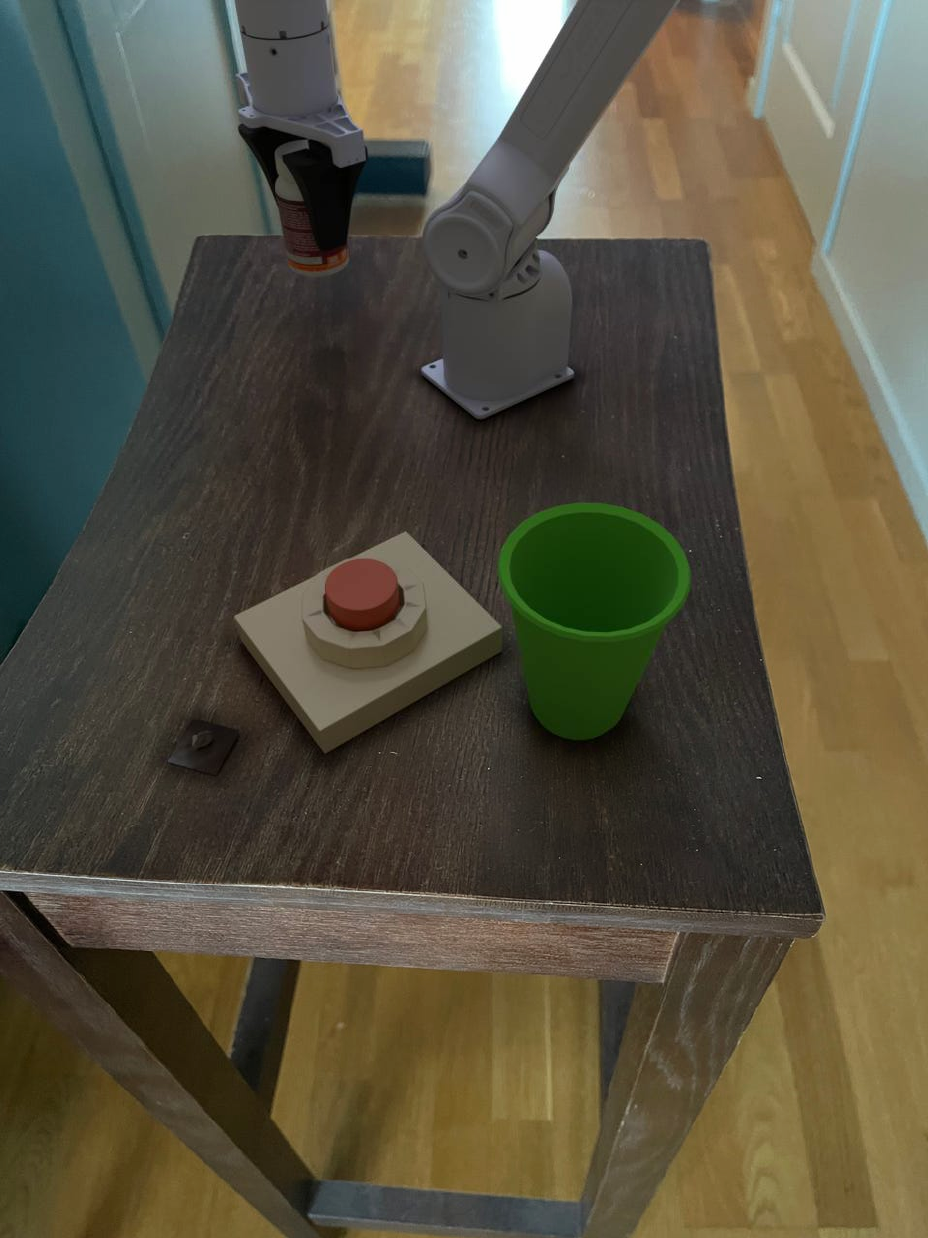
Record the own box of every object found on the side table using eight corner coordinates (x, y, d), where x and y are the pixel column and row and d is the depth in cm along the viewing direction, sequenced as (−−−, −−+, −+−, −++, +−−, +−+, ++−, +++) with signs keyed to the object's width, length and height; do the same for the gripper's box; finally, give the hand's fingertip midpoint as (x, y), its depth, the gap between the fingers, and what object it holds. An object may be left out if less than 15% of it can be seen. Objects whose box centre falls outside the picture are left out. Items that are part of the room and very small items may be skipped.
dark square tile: (216, 776, 48) (209, 765, 47) (167, 762, 49) (160, 751, 48) (240, 730, 50) (234, 719, 49) (193, 717, 51) (186, 706, 50)
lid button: (375, 569, 53) (372, 547, 52) (413, 610, 51) (411, 588, 50) (315, 599, 52) (311, 578, 50) (352, 643, 50) (348, 621, 48)
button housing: (408, 555, 59) (403, 509, 56) (502, 651, 54) (503, 605, 51) (240, 640, 55) (226, 594, 52) (324, 754, 49) (314, 711, 46)
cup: (540, 621, 55) (550, 479, 47) (682, 680, 52) (720, 539, 44) (465, 728, 50) (461, 591, 42) (617, 801, 47) (646, 668, 39)
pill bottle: (339, 281, 69) (324, 166, 62) (279, 276, 69) (259, 161, 63) (357, 251, 72) (345, 138, 66) (300, 246, 73) (282, 134, 66)
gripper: (180, 11, 61) (224, 213, 71) (282, 70, 53) (315, 288, 63) (274, -10, 64) (303, 188, 74) (384, 44, 56) (401, 257, 66)
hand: (314, 232), depth 69 cm, fingers closed on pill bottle, 5 cm apart
